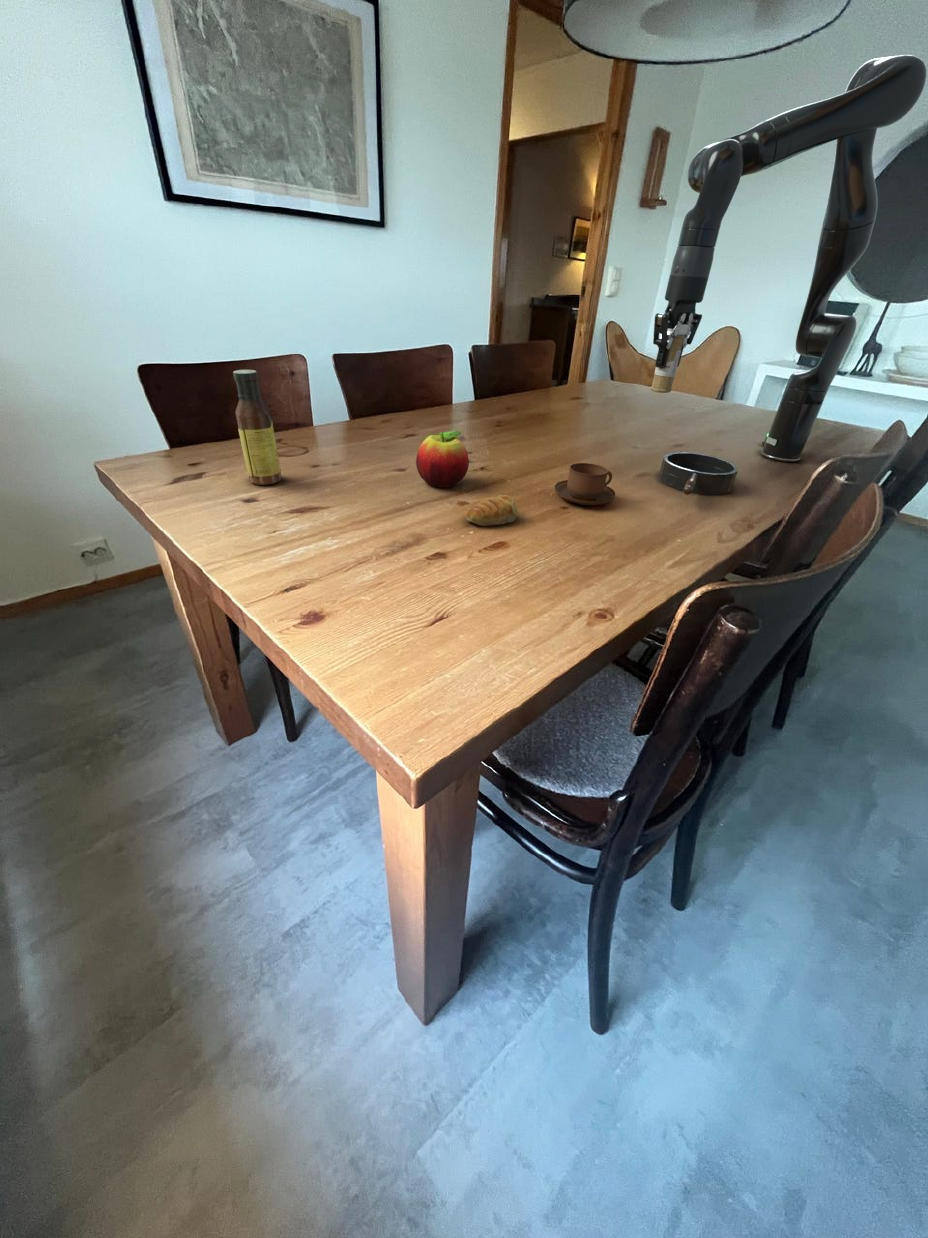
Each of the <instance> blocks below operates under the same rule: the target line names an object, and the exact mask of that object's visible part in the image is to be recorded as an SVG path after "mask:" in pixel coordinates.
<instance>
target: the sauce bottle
mask: <svg viewBox="0 0 928 1238" xmlns="http://www.w3.org/2000/svg"><path fill="white" fill-rule="evenodd" d="M232 375H233V379H234V382H235V384H236V388H237V389H236V390H237V393H238V394H237V397H238V402H237V406H236V408H235V419H236V422H237V429H238V436H239V440H240V444H241V449H242V453H243V459H244V464H245V469H246V473H247V476H248V480H249V482H250V483H252V484H255V485H258V486H269V485H275V484H276V483H279V482H281V480H282V473H281V471H282V468H281V463H280V457H279V451H278V446H277V441H276V435H275V429H274V424H273V419H272V416H271V414H270V412H269V410H268V408H267V406H266V404H265V402H264V400H263V398H262V395H261V391H260V386H259V374H258V372H257V370H254V369H238V370H234V371H233V372H232Z"/></svg>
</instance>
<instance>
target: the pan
mask: <svg viewBox="0 0 928 1238" xmlns="http://www.w3.org/2000/svg"><path fill="white" fill-rule="evenodd" d="M738 472H739V467H738V466H737V465H736V464H734V463H733V462H731V461H729V460H727V459H724V458H721V457H717V456H715V455H709V454H705V453H699V452H689V451H676V452H670V453H667V454H664V456H663V457H662V461H661V466H660V469H659V473H658V479H659V481H660V482H661V483H662V484H663V485H666V486H667V487H670V488H672V489H675V490H678V491H682V492H683V488H684V486H685V484H686V482H687V481H688V479H689V477H690V475H691V474H693V473H696V474H697V475H698V477H699V478H698V481H697V483H696V485H695V487H694V489H693V492H692V493H691V494H696V495H705V496H720V495H725V494H728V493H729V492H731V491H732V489H733V486H734V483H735V480H736V477H737V476H738V475H737V474H738Z"/></svg>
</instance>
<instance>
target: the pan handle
mask: <svg viewBox="0 0 928 1238" xmlns="http://www.w3.org/2000/svg"><path fill="white" fill-rule="evenodd" d="M698 478H699V477H698V475H697V474H696V473H693V474H691V475H690V477H689V479H688V481H687V482H686V484H685V486H684V488H683V491H682V493H683V494H684V495H685V496H689V495H691V494H693V493H692V492H693V489H694V487H695V485H696V483H697V481H698Z"/></svg>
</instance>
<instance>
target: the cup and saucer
mask: <svg viewBox="0 0 928 1238" xmlns="http://www.w3.org/2000/svg"><path fill="white" fill-rule="evenodd" d="M607 478H608V479H607ZM612 480H613V474H612V472H611V471H610V470H608V469H607V468H606V467H604V466H602V465H599V464H595V463H588V462H576V463H573V464H571V465H569V469H568V476H567V479H565V480H561V481H558V482H556V483H555V484H554V492H555V493H556V494H557V495H558V497H559V498H561V499H563V500H565V501H567V502H570V503H572V504H576V505H583V506H601V505H605V504H607V503H610V502H612V501H613V500H614V499H615V497H616V492H615V490H614V489H613V488H612V487H610V486H609V484H611V481H612Z"/></svg>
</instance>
